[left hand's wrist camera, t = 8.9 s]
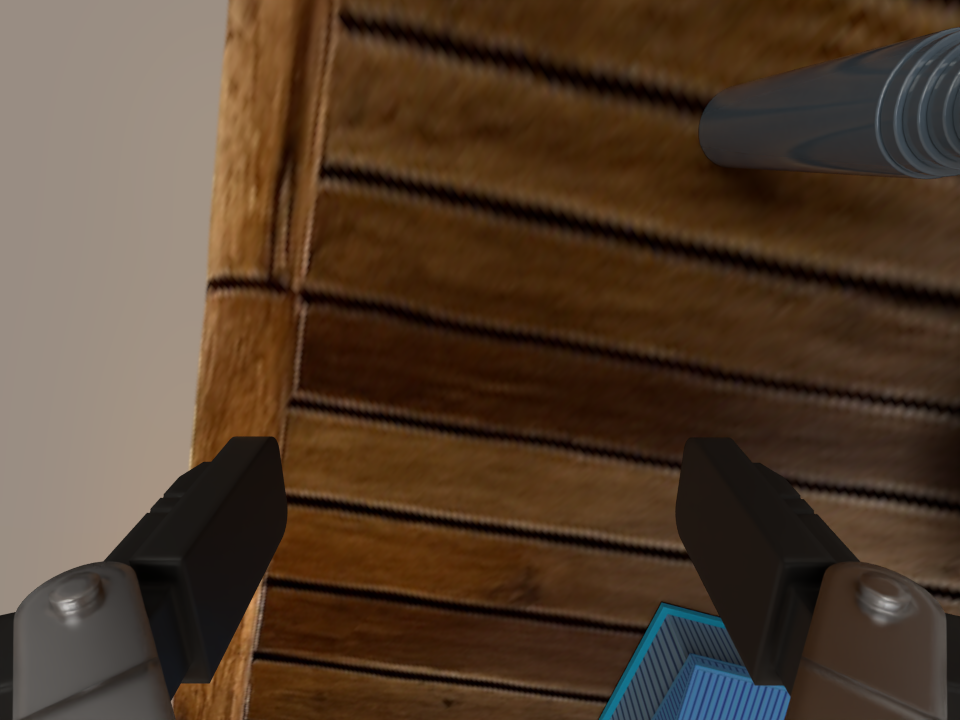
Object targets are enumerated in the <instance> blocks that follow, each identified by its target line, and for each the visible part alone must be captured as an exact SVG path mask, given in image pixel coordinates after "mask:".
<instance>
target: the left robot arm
mask: <svg viewBox="0 0 960 720" xmlns="http://www.w3.org/2000/svg"><path fill="white" fill-rule="evenodd" d="M675 512H676V524H677V529H678V533H679V536H680V538H681V541H682V543H683V545H684V547H685V548H686V550H687V552H688V554H689V556H690V558H691V560H692V562H693V564H694V566H695V568H696V570H697V572H698V574H699V576H700V578H701V580H702V582H703V584H704V586H705V588H706V590H707V592H708V594H709V596H710V598H711V600H712V602H713V604H714V606H715V608H716V610H717V612H718V614H719V616H720V618H721V620H722V622H723V624H724V626H725V628H726V630H727V632H728V634H729V636H730V637H731V639H732V641H733V643H734V645H735V647H736V649H737V651H738V653H739V655H740V657H741V659H742V661H743V663H744V665H745V667H746V669H747V671H748V673H749V675H750V677H751V679H752V681H753V683H754V685H755V686H785V688H786V690H787V692H788V694H789V695H790V701H789V704H788V708H787V712H786V715H785V719H784V720H960V616H956V615H951V614H947V613H944V611H943V609H942V607H941V606H940V604H939V603H938V601H937V600H936V599H935V598H934V597H933V596H932V595H931V594H930V593H929V592H927V591H926V590H925V589H924V588H922V587H921V586H920V585H918V584H917V583H915V582H914V581H912V580H910V579H909V578H907V577H905V576H903V575H901V574H899V573H897V572H894V571H892V570H889V569H887V568H884V567H881V566H878V565H874V564H869V563H864V562H860V561H859V560H858V559H857V558H856V556H855V555H854V554H853V553H852V552H851V551H850V550H849V549H848V548H847V547H846V545H845V544H844V543H843V542H842V541H841V540H840V539H839V538H838V537H837V536H836V534H835V533H834V532H833V531H832V530H831V529H830V528H829V527H828V526H827V524H826V523H825V522H824V521H823V520H822V519H821V518H820V517H819V516H818V515H817V514H814V510H813V509H812V508H811V507H810V506H809V505H808V504H807V502H806V501H805V500H804V499H801V498H800V495H799V494H798V492H797V491H796V490H795V489H794V488H793V487H792V486H791V485H790V484H789V483H788V481H787V480H786V479H785V478H784V477H782V476H780V475H779V474H777V473H775V472H774V471H772V470H771V469H769V468H767V467H766V466H764V465H762V464H761V463H752V462H751V461H750V460H749V458H748V457H747V456H746V455H745V454H744V452H743V451H742V450H741V449H740V448H739V447H738V445H737V444H736V443H735V442H734V441H733V440H732V439H731V438H689V439H688V440H687V442H686V444H685V447H684V453H683V459H682V466H681V473H680V480H679V487H678V493H677V500H676V511H675ZM286 523H287V499H286V492H285V486H284V479H283V472H282V465H281V458H280V451H279V446H278V443H277V440H276V439H275V438H274V437H233V438H231V439H230V440H229V441H228V443H227V444H226V445H225V446H224V447H223V449H222V450H221V451H220V452H219V453H218V455H217V456H216V457H215V458H214V459H213V460H212V462H203V463H201V464H199V465H198V466H196V467H195V468H193V469H191V470H190V471H188V472H186V473H185V474H183V475H182V476H180V477H179V478H178V479H177V480H176V481H175V482H174V483H173V485H172V486H171V487H170V488H169V489H168V490H167V491H166V492H165V493H164V497H163V498H160V499H159V500H158V501H157V502H156V504H155V505H154V506H153V507H152V508H151V511H150V513H147V514H146V515H145V516H144V517H143V518H142V519H141V520H140V521H139V523H138V524H137V525H136V526H135V527H134V528H133V529H132V530H131V531H130V532H129V534H128V535H127V536H126V537H125V538H124V539H123V540H122V541H121V542H120V544H119V545H118V546H117V547H116V548H115V549H114V550H113V551H112V553H111V554H110V555H109V556H108V557H107V558H106V559H105V560H104V561H103V562H96V563H91V564H87V565H82V566H79V567H76V568H73V569H71V570H68V571H66V572H63V573H61V574H59V575H57V576H55V577H53V578H51V579H50V580H48V581H46V582H45V583H43V584H42V585H40V586H39V587H38V588H36V589H35V590H34V591H33V592H31V593H30V594H29V595H28V596H27V597H26V598H25V599H24V600H23V601H22V603H21V604H20V606H19V607H18V609H17V611H16V612H14V613H9V614H5V615H0V720H176V719H175V715H174V712H173V708H172V704H171V700H172V698H173V696H174V695H175V693H176V691H177V689H178V687H179V686H180V684H181V683H210V682H211V680H212V678H213V676H214V674H215V672H216V670H217V668H218V666H219V664H220V662H221V660H222V658H223V656H224V654H225V652H226V650H227V648H228V646H229V644H230V642H231V640H232V638H233V636H234V634H235V632H236V630H237V628H238V626H239V624H240V622H241V620H242V618H243V616H244V614H245V612H246V610H247V608H248V606H249V604H250V602H251V600H252V598H253V596H254V594H255V592H256V590H257V588H258V586H259V584H260V582H261V580H262V578H263V576H264V574H265V572H266V570H267V567H268V565H269V563H270V561H271V559H272V557H273V555H274V553H275V551H276V549H277V547H278V545H279V543H280V541H281V539H282V537H283V535H284V532H285V528H286Z"/></svg>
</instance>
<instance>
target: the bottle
mask: <svg viewBox="0 0 960 720" xmlns="http://www.w3.org/2000/svg"><path fill="white" fill-rule="evenodd" d="M699 140H700V144H701V147H702V149H703V151H704V153H705V154H706V156H707V157H708V158H709V159H710V160H711V161H712V162H714V163H715V164H717V165H719V166H722V167H727V168H741V169H758V170H776V171H793V172H810V173H827V174H844V175H861V176H879V177H896V178H913V179H936V178H941V177H948V176H956V175H960V27H957V28H951V29H947V30H943V31H940V32H936V33H932V34H928V35H924V36H921V37H917V38H913V39H909V40H905V41H902V42H898V43H894V44H890V45H886V46H883V47H879V48H875V49H871V50H867V51H864V52H860V53H856V54H852V55H848V56H845V57H841V58H837V59H833V60H829V61H826V62H822V63H818V64H814V65H810V66H806V67H803V68H799V69H795V70H791V71H787V72H784V73H780V74H776V75H772V76H768V77H765V78H761V79H757V80H753V81H749V82H746V83H742V84H738V85H734V86H731V87H728V88H726V89H724V90H723V91H721V92H720V93H718V94H717V95H716V96H715V97H714V98H713V99H712V100H711V101H710V102H709V104H708V105H707V107H706V108H705V110H704V112H703V114H702V117H701V120H700V125H699Z"/></svg>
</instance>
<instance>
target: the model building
mask: <svg viewBox="0 0 960 720" xmlns="http://www.w3.org/2000/svg"><path fill="white" fill-rule="evenodd" d="M789 701H790V695H789V694H788V692H787V690H786V688H785V686H755V685H754V683H753V681H752V679H751V677H750V675H749V673H748V671H747V669H746V667H745V665H744V663H743V661H742V659H741V657H740V655H739V653H738V651H737V649H736V647H735V645H734V643H733V641H732V639H731V637H730V636H729V634H728V632H727V630H726V628H725V626H724V624H723V622H722V620H721V618H720V617H716V616H712V615H708V614H704V613H700V612H696V611H693V610H689V609H685V608H681V607H677V606H673V605H669V604H665V603H661V605H660V607H659V609H658V610H657V612H656V614H655V616H654V618H653V620H652V622H651V623H650V625H649V627H648V629H647V631H646V633H645V635H644V636H643V638H642V640H641V642H640V644H639V646H638V648H637V650H636V651H635V653H634V655H633V657H632V659H631V661H630V663H629V664H628V666H627V668H626V670H625V672H624V674H623V676H622V677H621V679H620V681H619V683H618V685H617V687H616V689H615V690H614V692H613V694H612V696H611V698H610V700H609V702H608V703H607V705H606V707H605V709H604V711H603V713H602V715H601V716H600V718H599V720H784V719H785V715H786V712H787V708H788V704H789Z"/></svg>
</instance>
